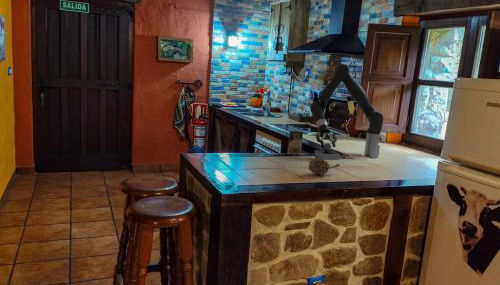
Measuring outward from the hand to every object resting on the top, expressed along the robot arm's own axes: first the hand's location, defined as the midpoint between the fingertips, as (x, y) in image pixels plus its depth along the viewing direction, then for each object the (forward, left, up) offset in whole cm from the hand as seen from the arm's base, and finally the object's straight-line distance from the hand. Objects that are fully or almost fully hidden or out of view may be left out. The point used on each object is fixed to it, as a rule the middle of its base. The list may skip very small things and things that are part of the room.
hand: (329, 146), depth 278 cm
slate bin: (0, -1, -9) cm, 9 cm away
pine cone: (+22, +37, -9) cm, 44 cm away
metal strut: (0, -2, -8) cm, 8 cm away
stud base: (-13, -1, -9) cm, 16 cm away
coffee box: (+17, -17, -9) cm, 26 cm away
